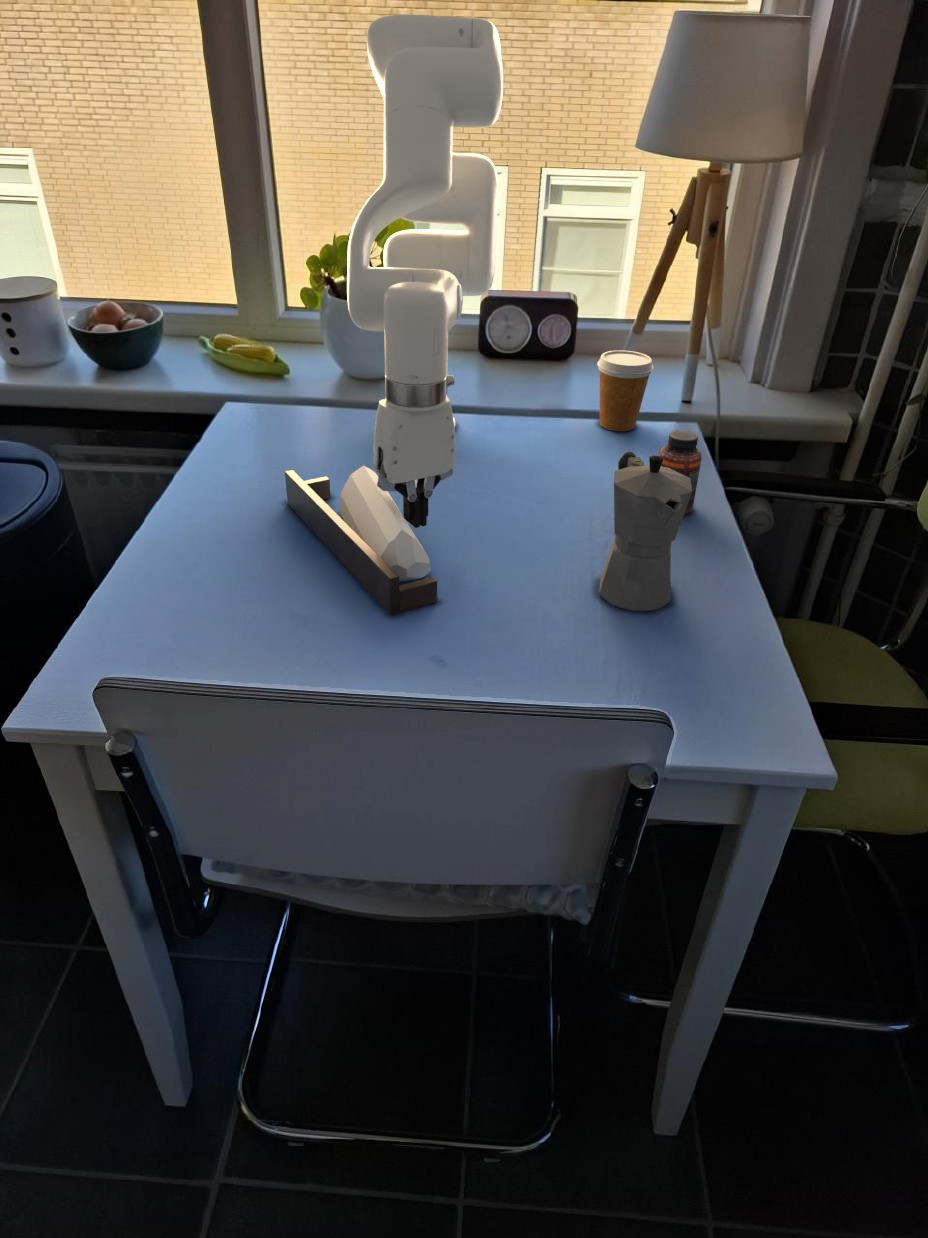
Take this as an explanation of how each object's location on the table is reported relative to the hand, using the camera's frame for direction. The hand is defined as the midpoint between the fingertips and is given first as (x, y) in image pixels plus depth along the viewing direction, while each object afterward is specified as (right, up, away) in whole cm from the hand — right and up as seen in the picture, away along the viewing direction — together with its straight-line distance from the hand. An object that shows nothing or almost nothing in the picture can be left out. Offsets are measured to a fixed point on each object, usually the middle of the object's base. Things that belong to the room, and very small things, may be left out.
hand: (415, 522), depth 118 cm
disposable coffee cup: (+34, +21, +38) cm, 55 cm away
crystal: (-4, -3, -1) cm, 6 cm away
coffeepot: (+27, -9, -9) cm, 30 cm away
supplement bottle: (+37, +3, +10) cm, 39 cm away
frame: (-8, -4, -3) cm, 9 cm away
